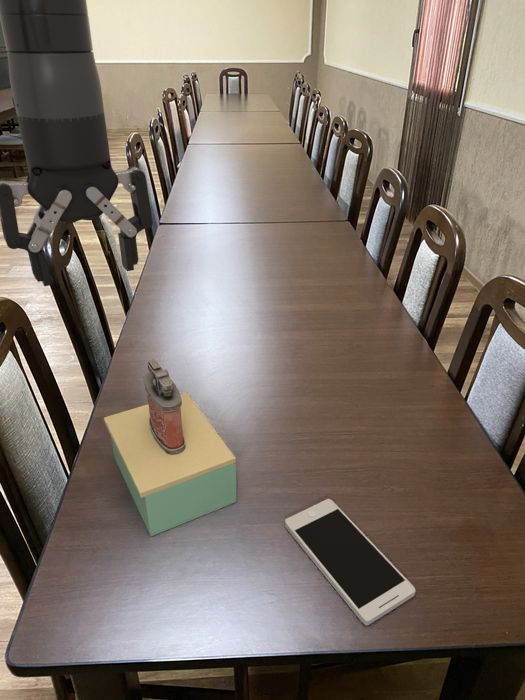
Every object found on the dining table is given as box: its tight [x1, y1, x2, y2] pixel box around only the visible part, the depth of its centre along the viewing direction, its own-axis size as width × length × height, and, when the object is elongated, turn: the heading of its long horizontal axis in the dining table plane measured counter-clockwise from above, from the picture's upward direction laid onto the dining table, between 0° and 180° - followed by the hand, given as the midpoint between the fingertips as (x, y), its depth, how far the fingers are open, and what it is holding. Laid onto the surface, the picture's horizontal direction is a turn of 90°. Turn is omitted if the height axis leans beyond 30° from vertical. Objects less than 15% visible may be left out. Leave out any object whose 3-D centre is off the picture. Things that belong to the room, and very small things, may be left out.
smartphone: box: [284, 498, 416, 627], centre depth 62 cm, size 7×16×1 cm, turn 31°
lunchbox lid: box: [103, 392, 237, 498], centre depth 69 cm, size 12×16×1 cm
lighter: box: [142, 358, 186, 455], centre depth 66 cm, size 8×3×10 cm, turn 29°
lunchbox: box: [110, 436, 237, 537], centre depth 71 cm, size 12×16×7 cm
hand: (89, 275), depth 57 cm, fingers open, 8 cm apart
